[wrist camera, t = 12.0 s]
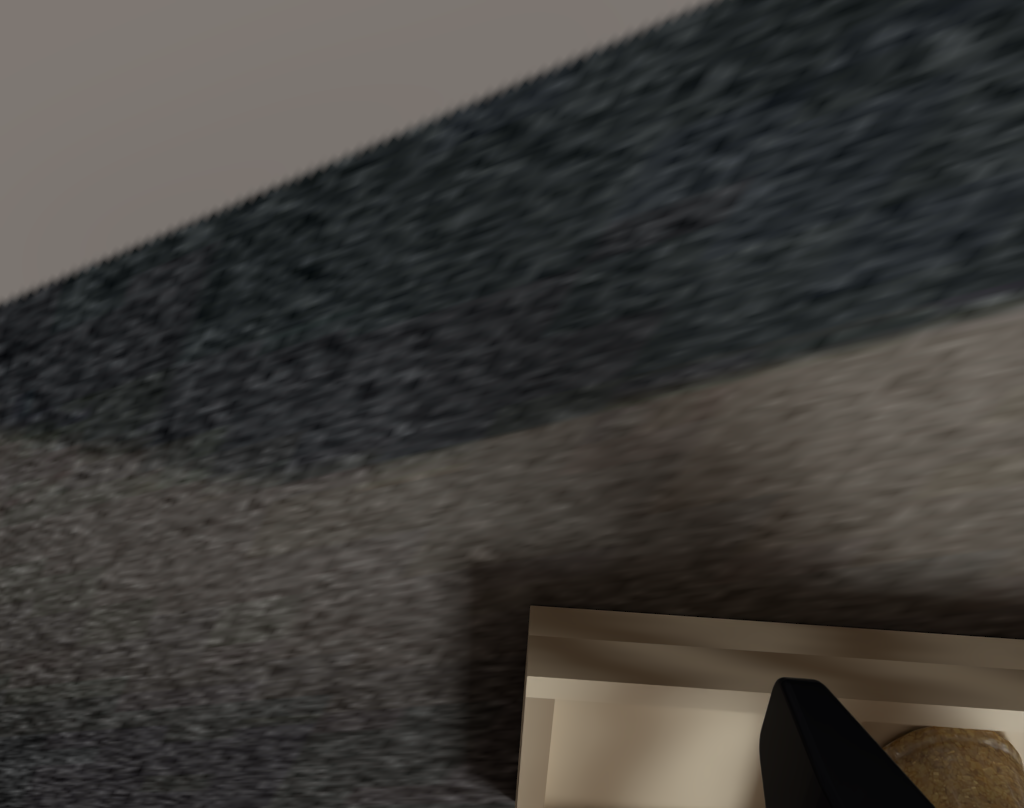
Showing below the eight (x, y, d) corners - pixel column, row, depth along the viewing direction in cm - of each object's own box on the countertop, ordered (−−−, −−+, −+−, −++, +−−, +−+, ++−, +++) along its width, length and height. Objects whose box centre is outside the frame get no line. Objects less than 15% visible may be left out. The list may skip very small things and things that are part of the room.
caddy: (515, 803, 30) (511, 878, 28) (530, 605, 25) (527, 676, 23) (1023, 840, 30) (1062, 920, 27) (1130, 647, 25) (1188, 722, 23)
